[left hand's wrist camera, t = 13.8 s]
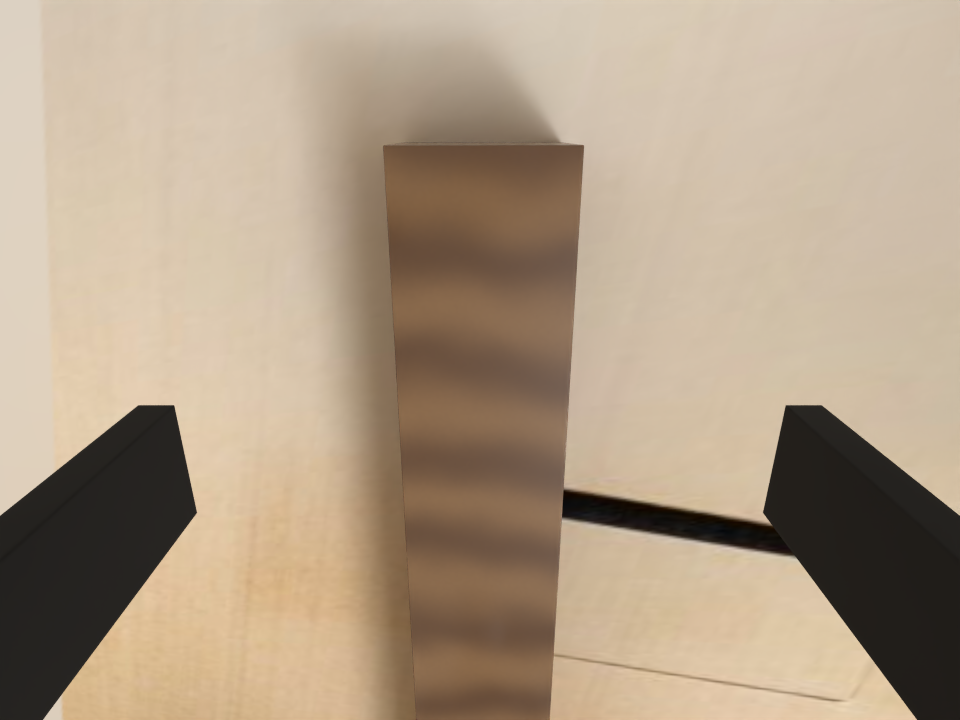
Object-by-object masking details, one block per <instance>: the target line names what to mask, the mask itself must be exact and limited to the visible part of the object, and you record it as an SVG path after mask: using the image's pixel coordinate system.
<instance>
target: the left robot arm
mask: <svg viewBox="0 0 960 720" xmlns="http://www.w3.org/2000/svg"><path fill="white" fill-rule="evenodd" d="M196 513H197V511H196V506H195V502H194V497H193V492H192V487H191V483H190V478H189V473H188V469H187V464H186V459H185V454H184V450H183V445H182V440H181V436H180V431H179V426H178V421H177V417H176V412H175V407H174V405H138V406H137V407H136V408H135V409H133V410H132V411H131V412H130V413H128V414H127V415H126V416H125V417H123V418H122V419H121V420H120V421H118V422H117V423H116V424H115V425H113V426H112V427H111V428H110V429H108V430H107V431H106V432H105V433H103V434H102V435H101V436H100V437H98V438H97V439H96V440H95V441H93V442H92V443H91V444H90V445H88V446H87V447H86V448H85V449H83V450H82V451H81V452H79V453H78V454H77V455H76V456H74V457H73V458H72V459H71V460H69V461H68V462H67V463H66V464H64V465H63V466H62V467H61V468H59V469H58V470H57V471H56V472H54V473H53V474H52V475H51V476H49V477H48V478H47V479H46V480H44V481H43V482H42V483H41V484H39V485H38V486H37V487H36V488H34V489H33V490H32V491H31V492H29V493H28V494H27V495H26V496H24V497H23V498H22V499H21V500H19V501H18V502H17V503H16V504H14V505H13V506H12V507H11V508H9V509H8V510H7V511H6V512H4V513H3V514H2V515H1V516H0V720H43V719H44V718H45V716H46V715H47V713H48V712H49V711H50V709H51V708H52V707H53V705H54V704H55V703H56V701H57V700H58V699H59V697H60V696H61V695H62V693H63V692H64V691H65V689H66V688H67V687H68V685H69V684H70V683H71V681H72V680H73V679H74V677H75V676H76V675H77V673H78V672H79V671H80V669H81V668H82V666H83V665H84V664H85V662H86V661H87V660H88V658H89V657H90V656H91V654H92V653H93V652H94V650H95V649H96V648H97V646H98V645H99V644H100V642H101V641H102V640H103V638H104V637H105V636H106V634H107V633H108V632H109V630H110V629H111V628H112V626H113V625H114V623H115V622H116V621H117V619H118V618H119V617H120V615H121V614H122V613H123V611H124V610H125V609H126V607H127V606H128V605H129V603H130V602H131V601H132V599H133V598H134V597H135V595H136V594H137V593H138V591H139V590H140V589H141V587H142V586H143V585H144V583H145V582H146V581H147V579H148V578H149V576H150V575H151V574H152V572H153V571H154V570H155V568H156V567H157V566H158V564H159V563H160V562H161V560H162V559H163V558H164V556H165V555H166V554H167V552H168V551H169V550H170V548H171V547H172V546H173V544H174V543H175V542H176V540H177V539H178V538H179V536H180V535H181V533H182V532H183V531H184V529H185V528H186V527H187V525H188V524H189V523H190V521H191V520H192V519H193V517H194V516H195V515H196ZM763 513H764V515H765V516H766V517H767V519H768V520H769V521H770V523H771V524H772V525H773V527H774V528H775V529H776V531H777V532H778V533H779V535H780V536H781V538H782V539H783V540H784V542H785V543H786V544H787V546H788V547H789V548H790V550H791V551H792V552H793V554H794V555H795V556H796V558H797V559H798V560H799V562H800V563H801V564H802V566H803V567H804V568H805V570H806V571H807V572H808V574H809V575H810V576H811V578H812V579H813V581H814V582H815V583H816V585H817V586H818V587H819V589H820V590H821V591H822V593H823V594H824V595H825V597H826V598H827V599H828V601H829V602H830V603H831V605H832V606H833V607H834V609H835V610H836V611H837V613H838V614H839V615H840V617H841V618H842V619H843V621H844V622H845V623H846V625H847V626H848V628H849V629H850V630H851V632H852V633H853V634H854V636H855V637H856V638H857V640H858V641H859V642H860V644H861V645H862V646H863V648H864V649H865V650H866V652H867V653H868V654H869V656H870V657H871V658H872V660H873V661H874V662H875V664H876V665H877V666H878V668H879V669H880V671H881V672H882V673H883V675H884V676H885V677H886V679H887V680H888V681H889V683H890V684H891V685H892V687H893V688H894V689H895V691H896V692H897V693H898V695H899V696H900V697H901V699H902V700H903V701H904V703H905V704H906V705H907V707H908V708H909V709H910V711H911V712H912V713H913V715H914V716H915V718H916V719H917V720H960V516H959V515H958V514H957V513H956V512H954V511H953V510H952V509H951V508H949V507H948V506H947V505H946V504H944V503H943V502H942V501H941V500H939V499H938V498H937V497H936V496H934V495H933V494H932V493H931V492H929V491H928V490H927V489H926V488H924V487H923V486H922V485H921V484H919V483H918V482H917V481H916V480H914V479H913V478H912V477H911V476H909V475H908V474H907V473H906V472H904V471H903V470H902V469H901V468H899V467H898V466H897V465H896V464H894V463H893V462H892V461H891V460H889V459H888V458H887V457H886V456H884V455H883V454H882V453H881V452H879V451H878V450H877V449H875V448H874V447H873V446H872V445H870V444H869V443H868V442H867V441H865V440H864V439H863V438H862V437H860V436H859V435H858V434H857V433H855V432H854V431H853V430H852V429H850V428H849V427H848V426H847V425H845V424H844V423H843V422H842V421H840V420H839V419H838V418H837V417H835V416H834V415H833V414H832V413H830V412H829V411H828V410H827V409H825V408H824V407H823V406H822V405H786V407H785V412H784V417H783V421H782V426H781V431H780V436H779V440H778V445H777V450H776V454H775V459H774V464H773V469H772V473H771V478H770V483H769V487H768V492H767V497H766V502H765V506H764V511H763Z"/></svg>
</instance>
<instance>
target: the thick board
mask: <svg viewBox="0 0 960 720" xmlns="http://www.w3.org/2000/svg"><path fill="white" fill-rule="evenodd" d="M383 151H384V168H385V185H386V203H387V220H388V237H389V254H390V272H391V289H392V306H393V323H394V341H395V358H396V375H397V393H398V410H399V427H400V444H401V462H402V479H403V496H404V513H405V531H406V548H407V565H408V582H409V600H410V617H411V634H412V652H413V669H414V686H415V703H416V720H550V704H551V688H552V671H553V654H554V638H555V621H556V604H557V588H558V571H559V554H560V538H561V521H562V504H563V487H564V471H565V454H566V437H567V421H568V404H569V387H570V371H571V354H572V337H573V321H574V304H575V287H576V271H577V254H578V237H579V220H580V204H581V187H582V170H583V154H584V145H578V144H569V143H398V144H391V145H384V146H383Z"/></svg>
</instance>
